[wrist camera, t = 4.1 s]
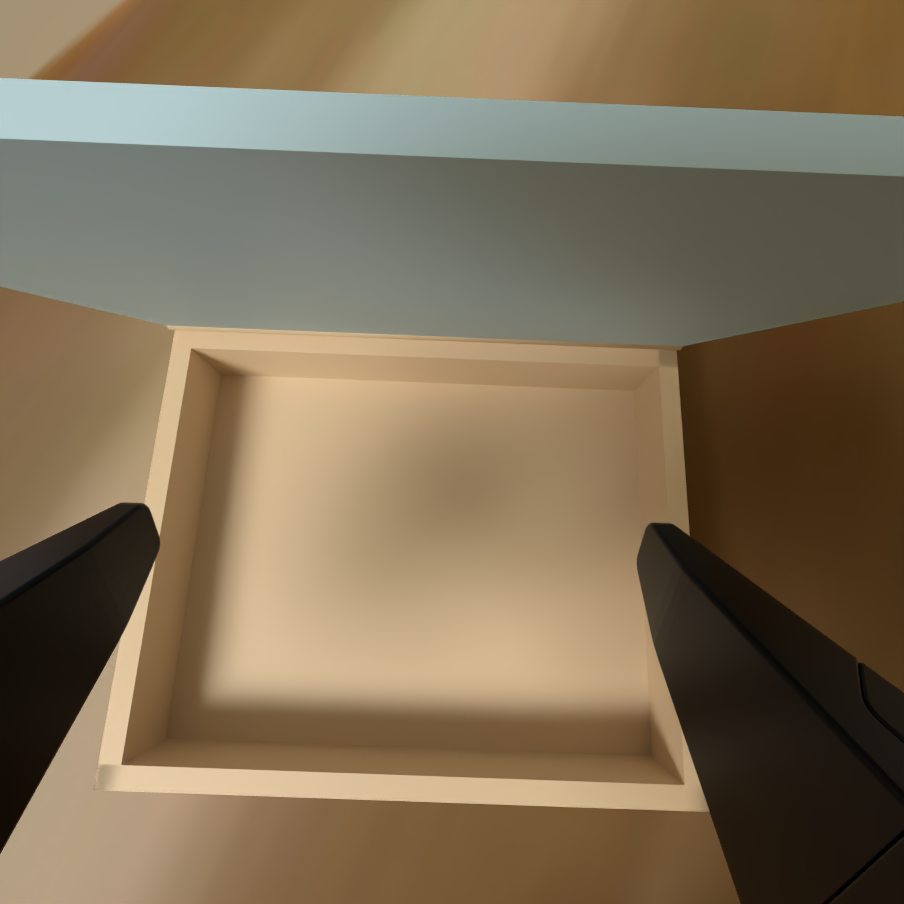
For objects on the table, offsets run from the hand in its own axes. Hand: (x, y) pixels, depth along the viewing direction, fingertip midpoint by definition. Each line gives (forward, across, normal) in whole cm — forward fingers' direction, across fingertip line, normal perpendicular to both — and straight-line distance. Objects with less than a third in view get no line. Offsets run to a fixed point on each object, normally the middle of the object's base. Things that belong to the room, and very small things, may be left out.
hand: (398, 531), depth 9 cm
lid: (+3, 0, -3) cm, 4 cm away
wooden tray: (+6, 0, +6) cm, 8 cm away
